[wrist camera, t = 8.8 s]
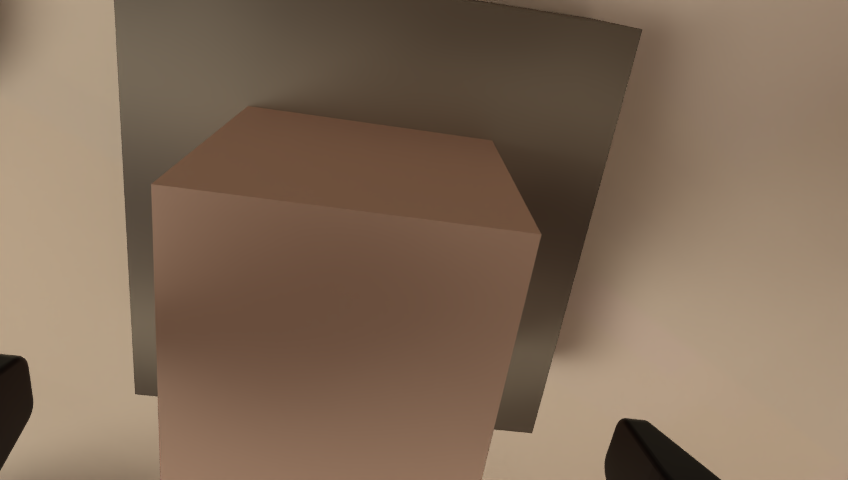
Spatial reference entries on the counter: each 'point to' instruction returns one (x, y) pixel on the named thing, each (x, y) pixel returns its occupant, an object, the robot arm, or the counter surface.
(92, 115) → the counter surface
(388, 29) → the walnut base
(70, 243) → the counter surface
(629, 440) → the robot arm
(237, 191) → the brown cube
